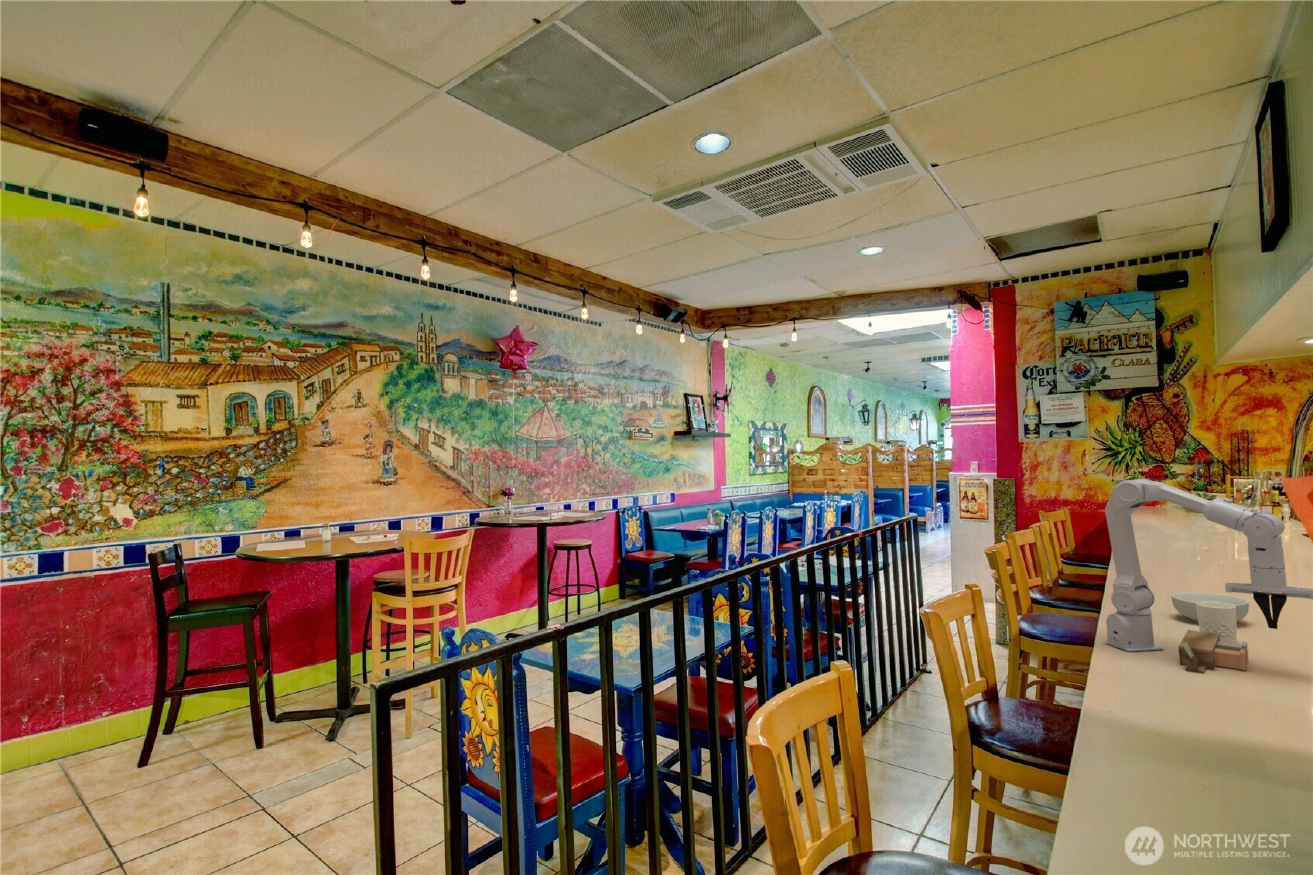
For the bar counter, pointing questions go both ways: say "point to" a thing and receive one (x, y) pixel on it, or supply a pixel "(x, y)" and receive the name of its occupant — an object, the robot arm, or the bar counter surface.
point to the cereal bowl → (1187, 600)
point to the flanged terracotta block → (1230, 658)
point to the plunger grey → (1233, 647)
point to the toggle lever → (1189, 651)
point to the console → (1199, 650)
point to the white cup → (1218, 619)
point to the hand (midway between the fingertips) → (1272, 627)
